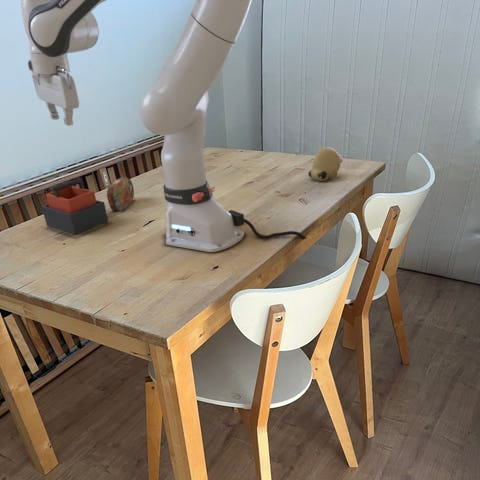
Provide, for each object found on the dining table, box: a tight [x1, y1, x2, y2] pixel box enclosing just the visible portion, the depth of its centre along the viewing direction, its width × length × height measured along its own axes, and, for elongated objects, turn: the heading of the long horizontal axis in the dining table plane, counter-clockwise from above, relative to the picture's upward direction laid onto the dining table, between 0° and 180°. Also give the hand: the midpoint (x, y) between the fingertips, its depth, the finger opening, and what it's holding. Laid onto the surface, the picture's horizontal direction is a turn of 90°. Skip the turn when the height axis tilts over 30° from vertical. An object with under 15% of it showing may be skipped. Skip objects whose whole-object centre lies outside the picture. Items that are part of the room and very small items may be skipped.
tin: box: [106, 176, 135, 212], centre depth 156 cm, size 15×3×8 cm, turn 168°
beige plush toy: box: [307, 146, 343, 182], centre depth 169 cm, size 10×12×11 cm
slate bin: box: [41, 199, 109, 236], centre depth 144 cm, size 14×12×7 cm
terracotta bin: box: [45, 177, 97, 214], centre depth 142 cm, size 11×9×12 cm
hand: (62, 122), depth 132 cm, fingers open, 8 cm apart
